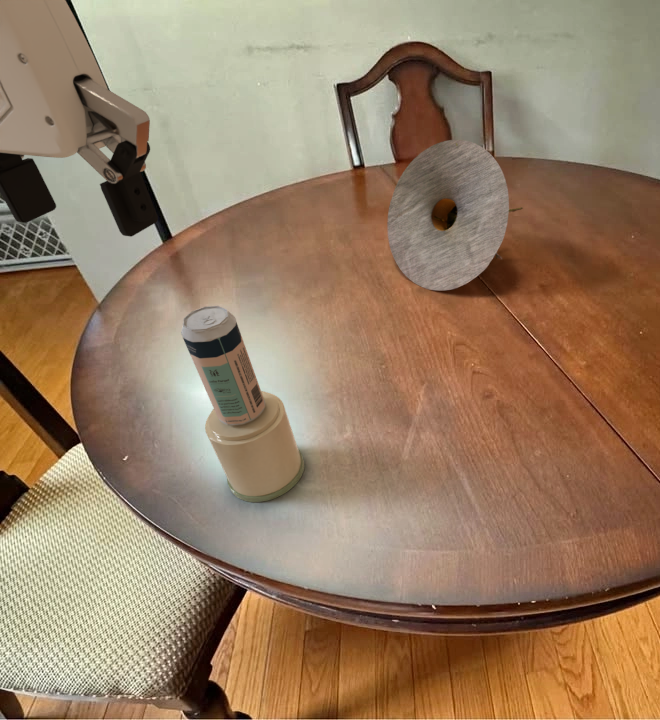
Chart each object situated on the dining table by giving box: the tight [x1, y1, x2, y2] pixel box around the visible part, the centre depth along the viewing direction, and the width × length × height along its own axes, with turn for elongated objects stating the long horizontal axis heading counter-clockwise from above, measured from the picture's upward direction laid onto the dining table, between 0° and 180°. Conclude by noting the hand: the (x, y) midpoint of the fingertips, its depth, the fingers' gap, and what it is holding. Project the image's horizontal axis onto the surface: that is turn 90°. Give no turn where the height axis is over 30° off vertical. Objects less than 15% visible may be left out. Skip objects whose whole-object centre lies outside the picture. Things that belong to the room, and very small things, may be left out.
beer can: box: [180, 305, 265, 425], centre depth 54 cm, size 5×5×12 cm
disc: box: [387, 139, 524, 292], centre depth 98 cm, size 25×18×25 cm
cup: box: [204, 390, 305, 503], centre depth 61 cm, size 8×8×10 cm
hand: (88, 222), depth 43 cm, fingers open, 9 cm apart
